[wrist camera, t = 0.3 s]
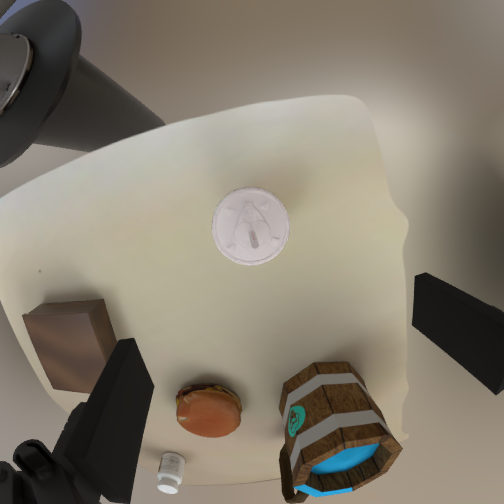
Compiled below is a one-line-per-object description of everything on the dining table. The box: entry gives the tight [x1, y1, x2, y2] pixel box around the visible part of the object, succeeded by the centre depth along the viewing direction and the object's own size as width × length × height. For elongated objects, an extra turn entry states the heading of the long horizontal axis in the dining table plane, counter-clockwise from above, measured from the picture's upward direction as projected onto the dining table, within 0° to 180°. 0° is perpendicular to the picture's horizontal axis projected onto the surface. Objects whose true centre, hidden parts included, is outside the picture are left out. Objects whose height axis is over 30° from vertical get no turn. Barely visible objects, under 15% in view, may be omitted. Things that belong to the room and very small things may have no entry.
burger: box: [176, 384, 242, 438], centre depth 36 cm, size 10×9×5 cm
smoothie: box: [212, 187, 290, 265], centre depth 26 cm, size 6×6×14 cm
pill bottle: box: [157, 453, 185, 494], centre depth 38 cm, size 4×4×8 cm
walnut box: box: [22, 299, 117, 393], centre depth 33 cm, size 12×12×5 cm
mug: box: [279, 362, 403, 504], centre depth 32 cm, size 20×14×15 cm
